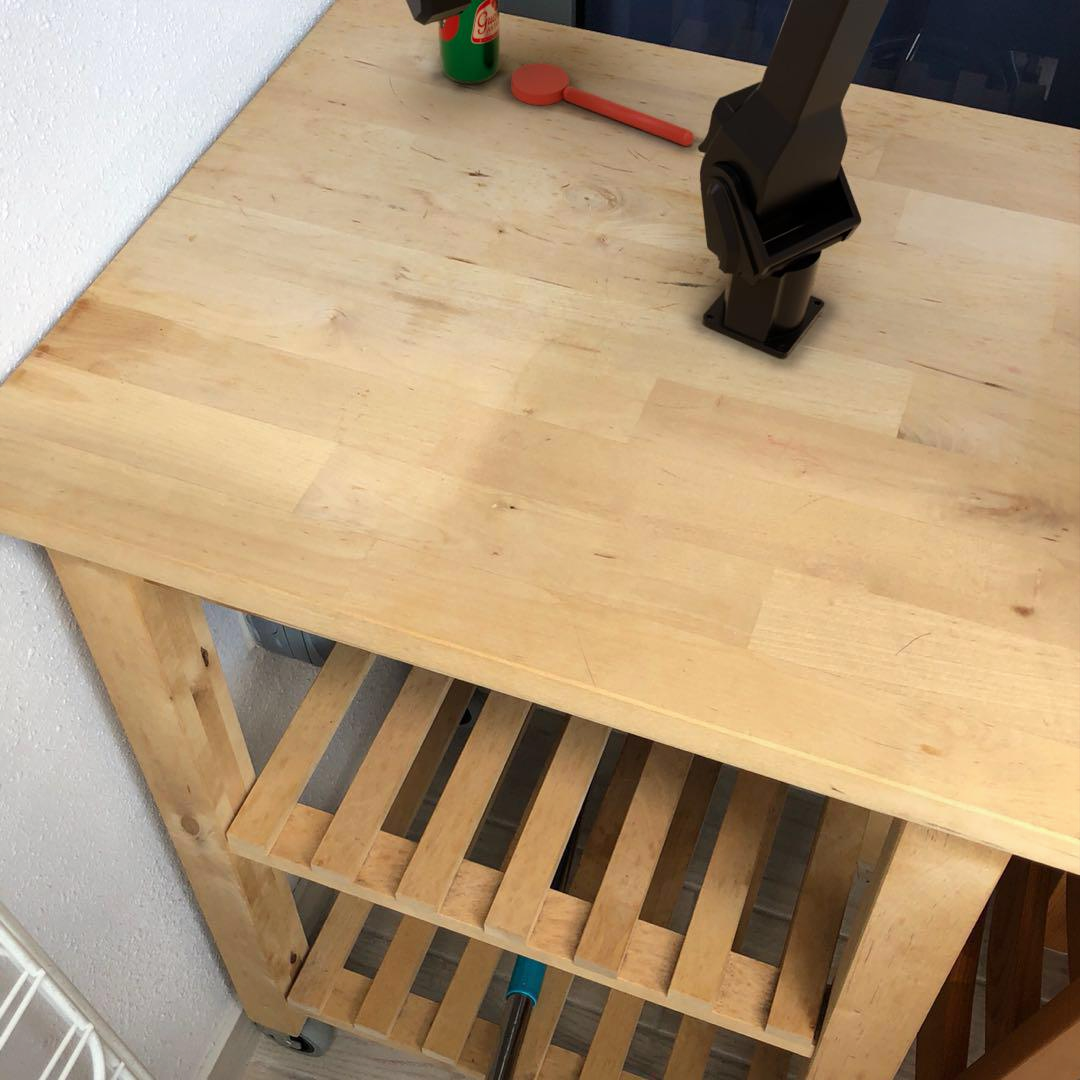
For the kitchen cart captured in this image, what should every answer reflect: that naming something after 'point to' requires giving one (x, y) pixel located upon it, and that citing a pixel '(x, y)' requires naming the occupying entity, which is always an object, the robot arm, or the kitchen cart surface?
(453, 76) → the soda can
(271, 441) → the kitchen cart surface
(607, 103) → the spoon
